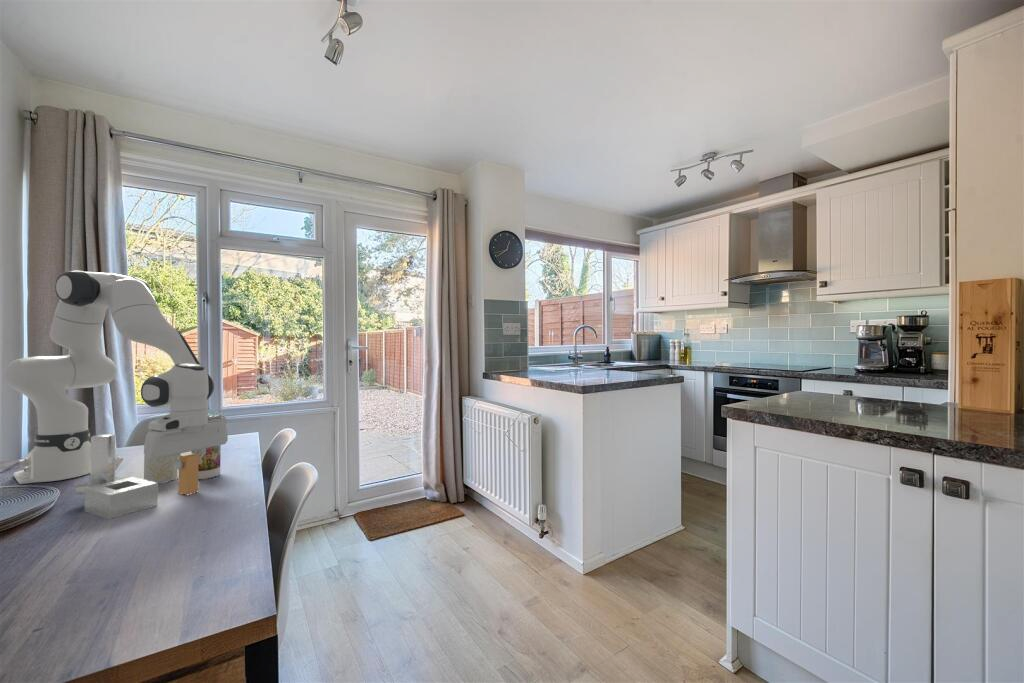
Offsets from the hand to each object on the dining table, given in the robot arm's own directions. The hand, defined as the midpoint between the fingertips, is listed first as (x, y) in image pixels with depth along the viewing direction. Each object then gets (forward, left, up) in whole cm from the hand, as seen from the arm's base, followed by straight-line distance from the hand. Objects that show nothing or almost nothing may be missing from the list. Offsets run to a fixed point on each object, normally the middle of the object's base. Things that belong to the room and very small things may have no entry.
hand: (188, 466), depth 120 cm
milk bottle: (-11, +11, -8) cm, 17 cm away
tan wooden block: (0, 0, -8) cm, 8 cm away
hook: (-24, -8, -8) cm, 27 cm away
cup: (-20, +3, -8) cm, 22 cm away
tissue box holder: (-8, -14, -8) cm, 18 cm away
